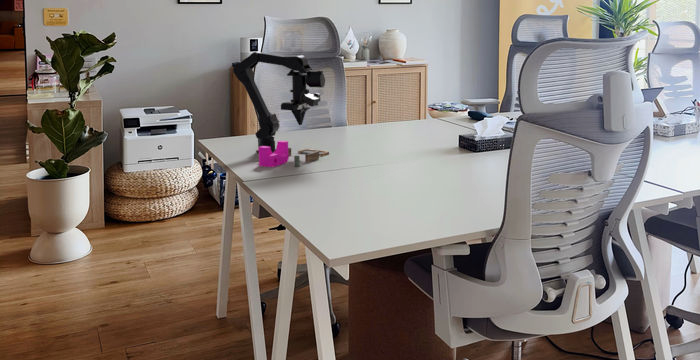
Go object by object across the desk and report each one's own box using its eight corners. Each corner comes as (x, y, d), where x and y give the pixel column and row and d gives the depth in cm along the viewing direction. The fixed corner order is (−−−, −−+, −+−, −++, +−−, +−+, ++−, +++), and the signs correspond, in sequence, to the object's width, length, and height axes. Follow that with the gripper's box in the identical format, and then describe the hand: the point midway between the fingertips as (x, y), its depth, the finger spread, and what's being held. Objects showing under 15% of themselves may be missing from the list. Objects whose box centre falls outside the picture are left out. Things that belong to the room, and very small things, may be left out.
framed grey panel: (260, 162, 288) (260, 152, 287) (300, 150, 311) (299, 141, 310) (297, 167, 279) (297, 156, 278) (335, 154, 301) (335, 145, 300)
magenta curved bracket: (272, 167, 279) (271, 148, 278) (259, 166, 282) (258, 147, 280) (293, 160, 292) (293, 141, 290) (280, 158, 295) (280, 140, 293)
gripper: (302, 90, 286) (303, 129, 290) (328, 85, 301) (329, 123, 305) (279, 88, 292) (280, 127, 295) (306, 84, 307) (307, 121, 311)
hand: (300, 124), depth 301 cm, fingers closed
